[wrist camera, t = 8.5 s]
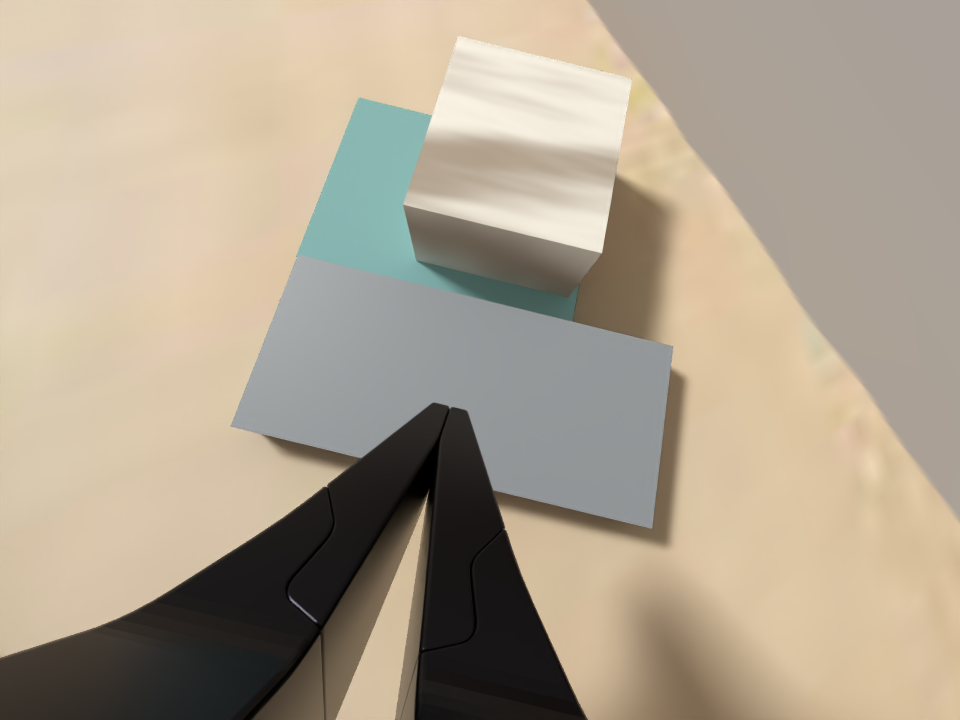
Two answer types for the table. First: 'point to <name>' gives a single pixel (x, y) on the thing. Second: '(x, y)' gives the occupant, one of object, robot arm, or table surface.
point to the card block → (517, 168)
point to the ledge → (465, 385)
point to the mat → (395, 213)
